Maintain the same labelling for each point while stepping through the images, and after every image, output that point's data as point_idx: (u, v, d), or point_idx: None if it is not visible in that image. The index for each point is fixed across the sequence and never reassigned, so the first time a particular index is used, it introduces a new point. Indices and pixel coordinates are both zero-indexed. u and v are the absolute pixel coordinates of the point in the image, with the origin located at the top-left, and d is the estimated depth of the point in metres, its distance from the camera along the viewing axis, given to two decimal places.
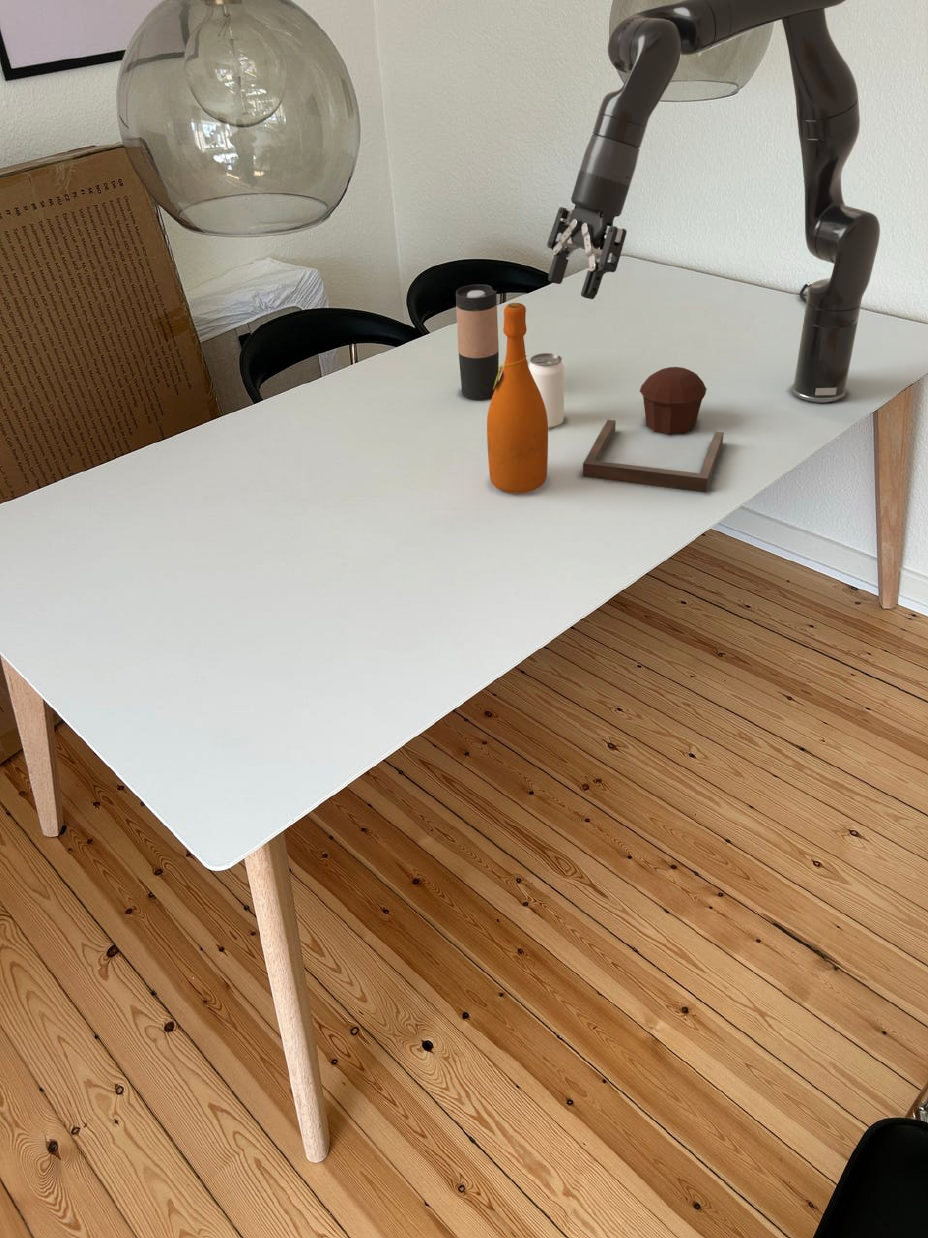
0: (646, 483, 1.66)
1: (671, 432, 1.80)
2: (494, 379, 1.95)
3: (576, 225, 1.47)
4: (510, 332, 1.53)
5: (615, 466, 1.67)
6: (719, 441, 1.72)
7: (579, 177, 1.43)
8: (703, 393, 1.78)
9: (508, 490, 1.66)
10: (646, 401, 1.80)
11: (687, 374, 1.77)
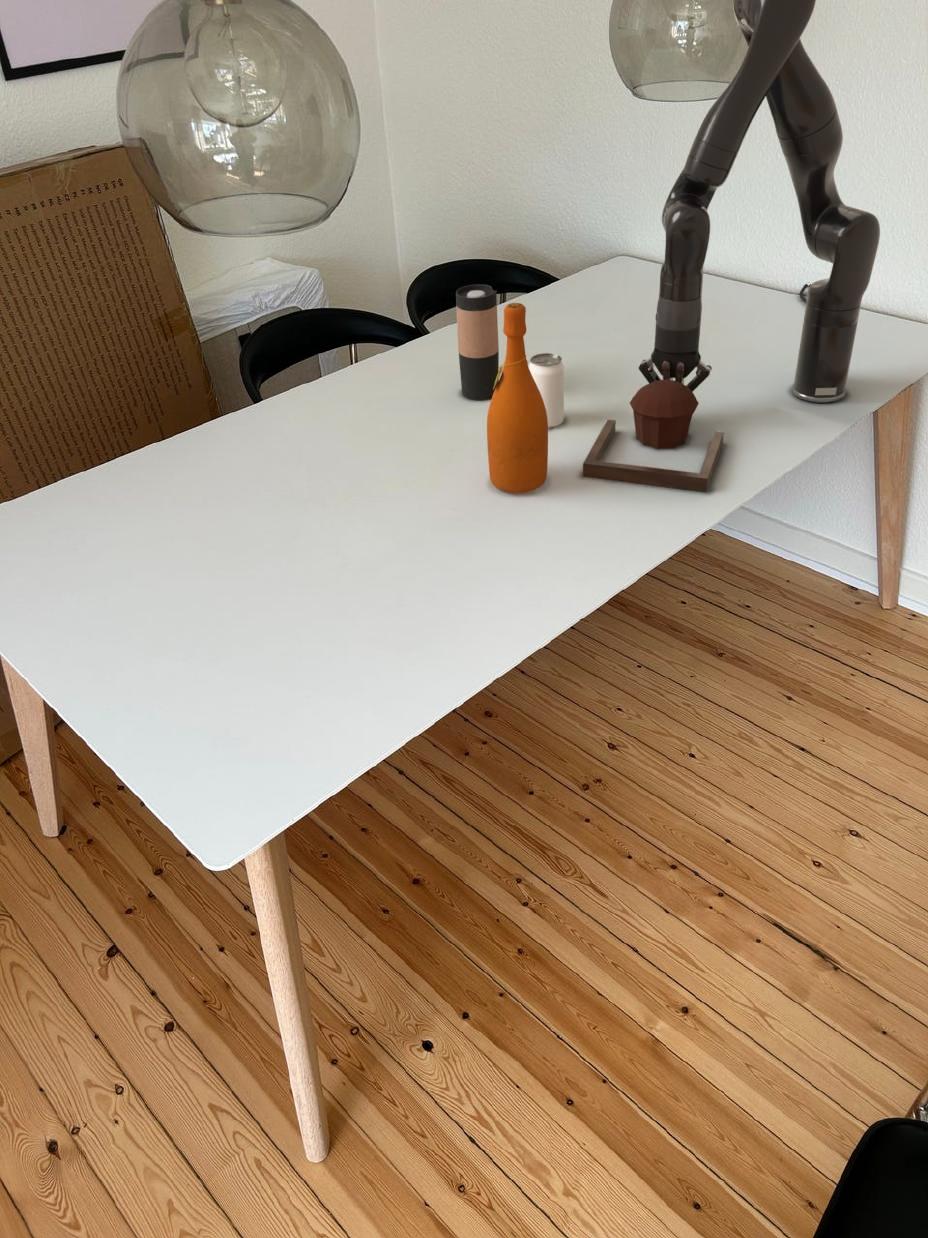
0: (646, 483, 1.66)
1: (659, 446, 1.76)
2: (494, 379, 1.95)
3: (669, 365, 1.77)
4: (510, 332, 1.53)
5: (615, 466, 1.67)
6: (719, 441, 1.72)
7: (667, 334, 1.72)
8: (693, 408, 1.73)
9: (508, 490, 1.66)
10: (635, 413, 1.76)
11: (677, 388, 1.73)
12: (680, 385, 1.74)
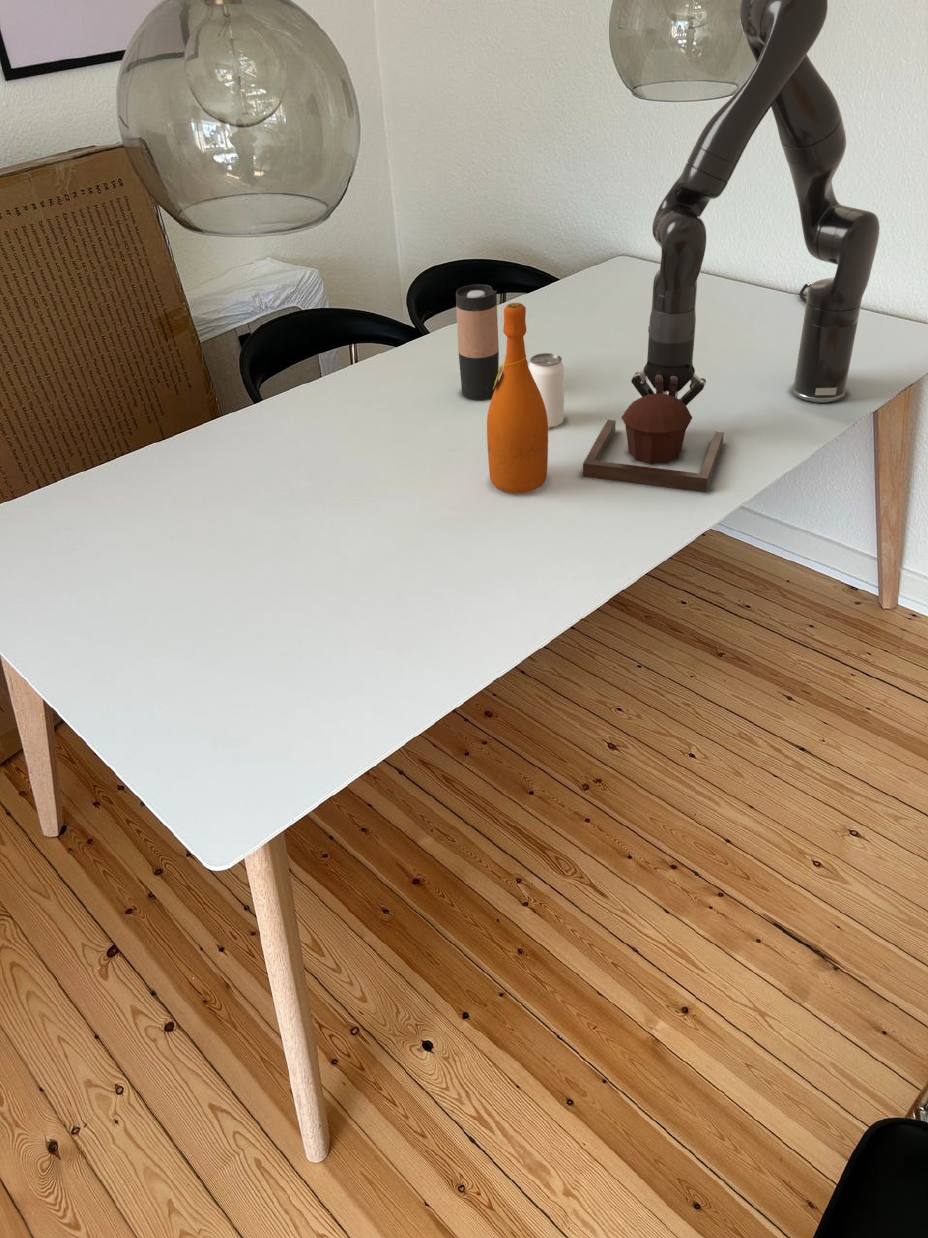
0: (646, 483, 1.66)
1: (652, 462, 1.72)
2: (494, 379, 1.95)
3: (662, 378, 1.72)
4: (510, 332, 1.53)
5: (615, 466, 1.67)
6: (719, 441, 1.72)
7: (660, 347, 1.67)
8: (687, 422, 1.69)
9: (508, 490, 1.66)
10: (628, 428, 1.72)
11: (670, 402, 1.68)
12: (673, 399, 1.69)
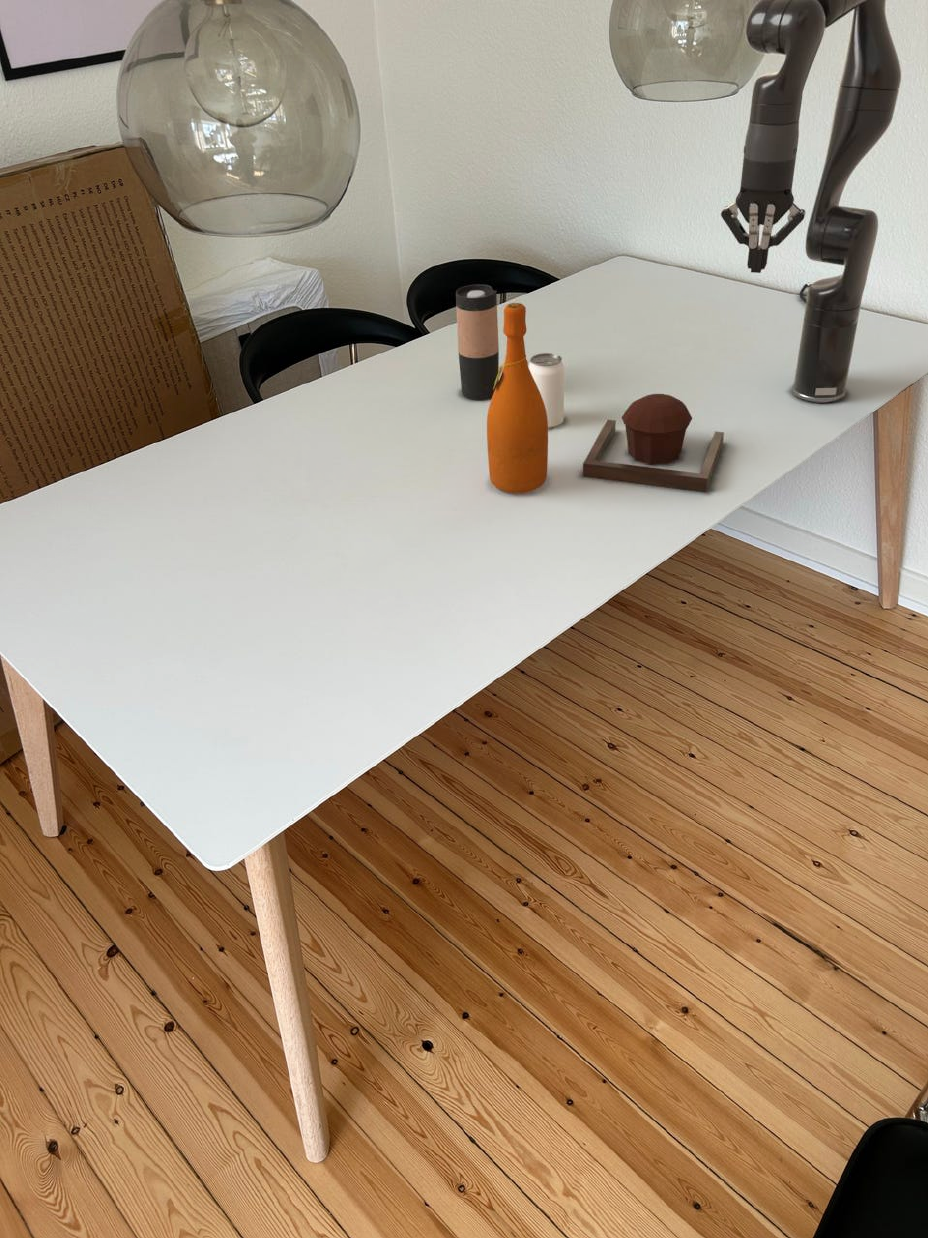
0: (646, 483, 1.66)
1: (652, 462, 1.72)
2: (494, 379, 1.95)
3: (757, 208, 1.54)
4: (510, 332, 1.53)
5: (615, 466, 1.67)
6: (719, 441, 1.72)
7: (759, 168, 1.49)
8: (687, 423, 1.69)
9: (508, 490, 1.66)
10: (627, 428, 1.72)
11: (670, 403, 1.68)
12: (673, 399, 1.69)
